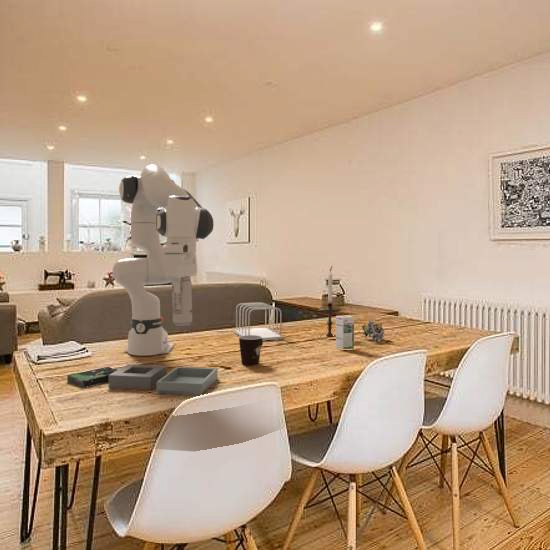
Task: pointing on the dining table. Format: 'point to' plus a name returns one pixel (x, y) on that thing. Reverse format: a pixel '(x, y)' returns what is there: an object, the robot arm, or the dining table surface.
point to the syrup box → (345, 332)
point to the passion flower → (374, 331)
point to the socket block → (137, 376)
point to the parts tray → (187, 381)
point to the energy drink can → (182, 303)
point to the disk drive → (91, 377)
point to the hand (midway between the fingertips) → (181, 291)
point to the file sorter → (263, 332)
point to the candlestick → (329, 306)
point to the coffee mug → (250, 349)
